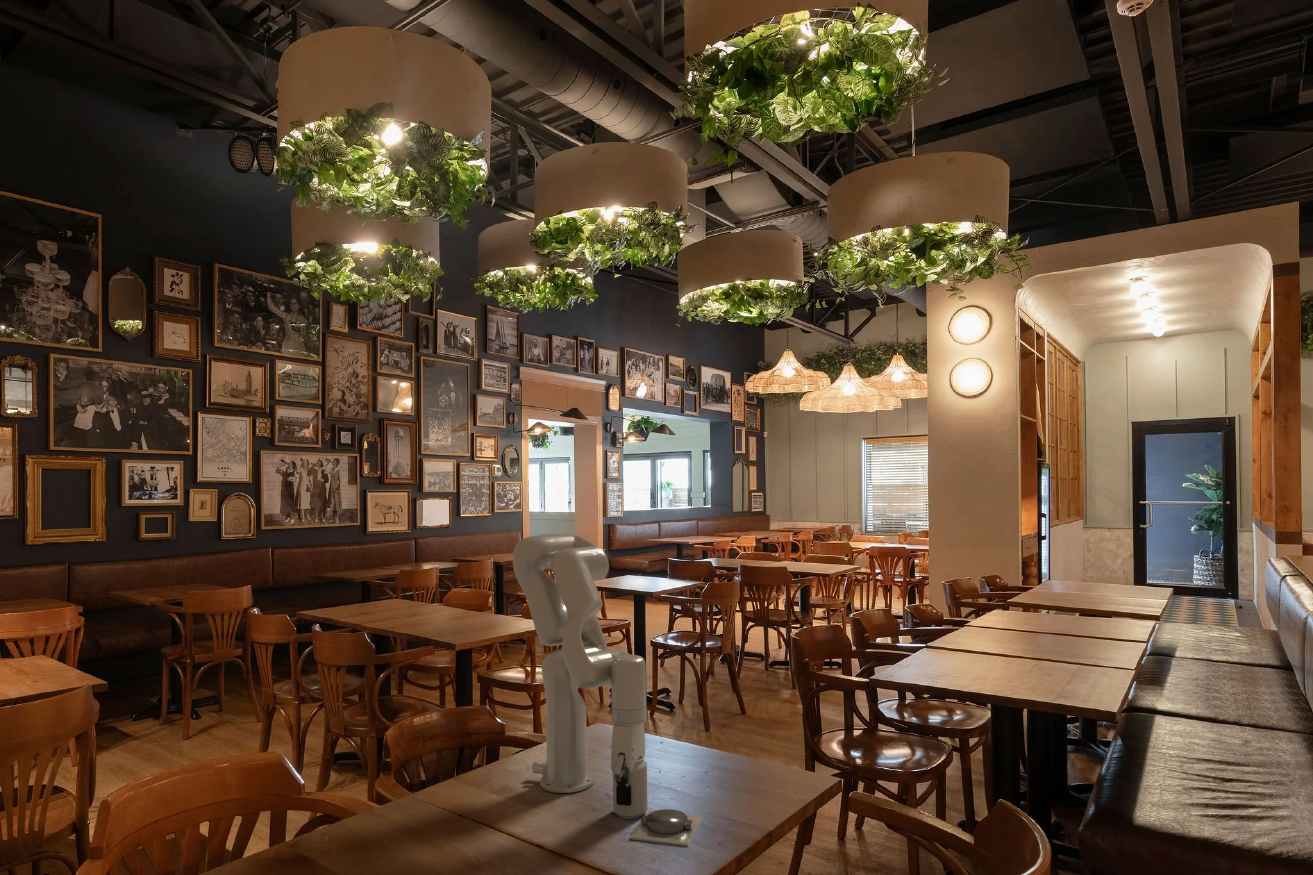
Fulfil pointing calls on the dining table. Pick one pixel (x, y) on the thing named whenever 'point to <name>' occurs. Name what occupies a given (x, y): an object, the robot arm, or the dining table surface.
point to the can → (634, 792)
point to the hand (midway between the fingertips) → (630, 796)
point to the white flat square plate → (667, 827)
